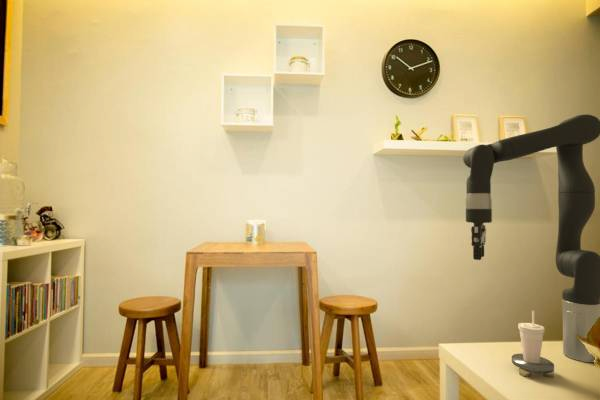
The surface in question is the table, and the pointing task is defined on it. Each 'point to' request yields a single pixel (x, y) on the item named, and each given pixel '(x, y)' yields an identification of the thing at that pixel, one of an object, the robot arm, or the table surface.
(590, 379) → the table surface
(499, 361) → the table surface
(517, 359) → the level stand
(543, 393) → the table surface
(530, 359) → the smoothie
